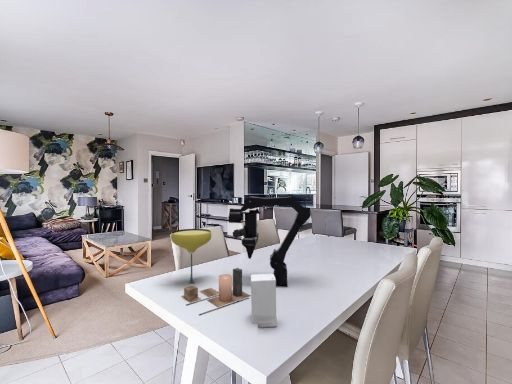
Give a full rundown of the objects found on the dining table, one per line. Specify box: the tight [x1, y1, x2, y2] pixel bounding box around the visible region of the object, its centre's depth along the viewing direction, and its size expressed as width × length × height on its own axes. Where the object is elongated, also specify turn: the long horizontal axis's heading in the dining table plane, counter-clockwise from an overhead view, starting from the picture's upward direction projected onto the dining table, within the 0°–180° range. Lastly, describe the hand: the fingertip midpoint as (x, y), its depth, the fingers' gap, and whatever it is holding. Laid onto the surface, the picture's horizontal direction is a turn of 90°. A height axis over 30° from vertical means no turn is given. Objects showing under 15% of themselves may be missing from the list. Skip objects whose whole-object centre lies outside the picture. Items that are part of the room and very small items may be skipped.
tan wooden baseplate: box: [206, 267, 251, 308], centre depth 104 cm, size 16×8×12 cm, turn 130°
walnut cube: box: [183, 284, 199, 302], centre depth 105 cm, size 4×4×4 cm
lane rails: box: [185, 289, 250, 317], centre depth 101 cm, size 22×11×1 cm, turn 130°
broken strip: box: [180, 287, 219, 304], centre depth 107 cm, size 14×8×1 cm, turn 130°
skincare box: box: [250, 273, 277, 328], centre depth 88 cm, size 8×7×16 cm
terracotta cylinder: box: [218, 273, 233, 302], centre depth 103 cm, size 5×5×9 cm
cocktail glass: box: [170, 228, 212, 285], centre depth 121 cm, size 18×18×25 cm
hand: (250, 256), depth 124 cm, fingers open, 9 cm apart
